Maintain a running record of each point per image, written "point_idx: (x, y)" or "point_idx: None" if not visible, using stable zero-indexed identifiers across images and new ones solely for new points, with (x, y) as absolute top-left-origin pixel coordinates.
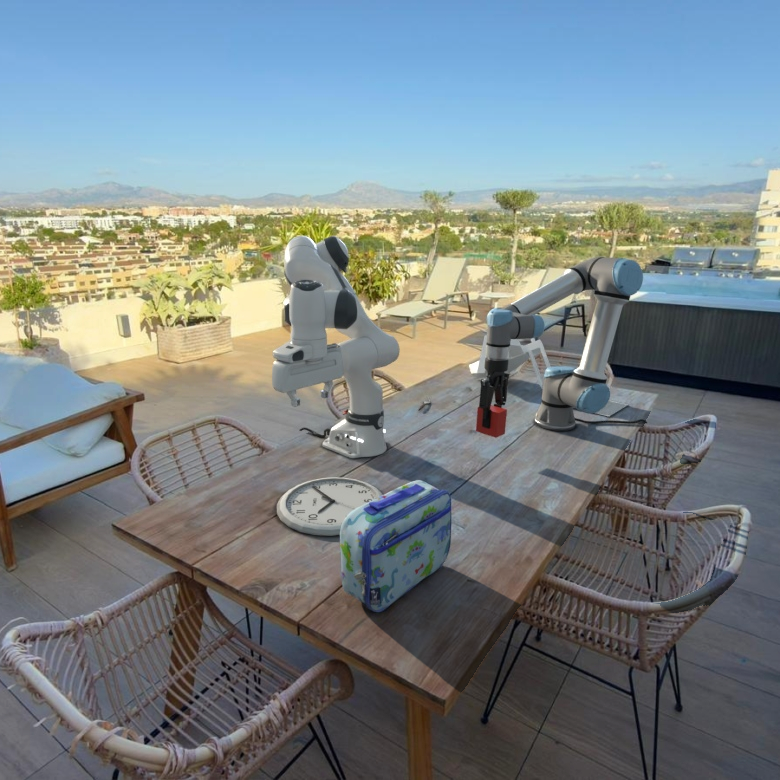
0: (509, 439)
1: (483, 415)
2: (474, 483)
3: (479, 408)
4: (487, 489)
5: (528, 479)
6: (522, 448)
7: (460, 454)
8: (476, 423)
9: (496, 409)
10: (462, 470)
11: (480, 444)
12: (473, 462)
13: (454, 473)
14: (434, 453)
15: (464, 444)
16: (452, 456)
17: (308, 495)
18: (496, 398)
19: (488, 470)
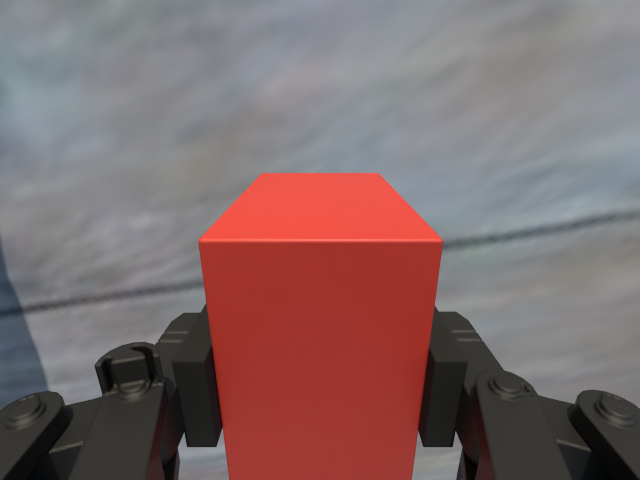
0: (537, 204)
1: (166, 341)
2: (32, 340)
3: (205, 266)
4: (44, 388)
5: (222, 435)
6: (465, 302)
7: (179, 134)
8: (250, 185)
9: (316, 437)
10: (64, 248)
11: (370, 131)
12: (164, 235)
13: (13, 242)
14: (63, 13)
15: (303, 61)
16: (126, 120)
17: None
18: (483, 474)
19: (160, 318)
